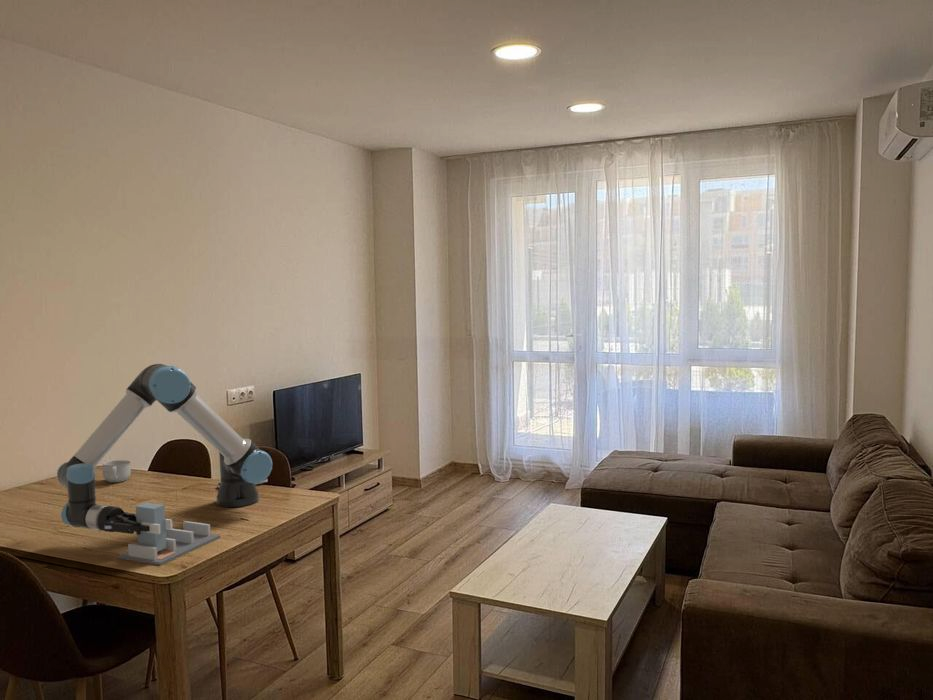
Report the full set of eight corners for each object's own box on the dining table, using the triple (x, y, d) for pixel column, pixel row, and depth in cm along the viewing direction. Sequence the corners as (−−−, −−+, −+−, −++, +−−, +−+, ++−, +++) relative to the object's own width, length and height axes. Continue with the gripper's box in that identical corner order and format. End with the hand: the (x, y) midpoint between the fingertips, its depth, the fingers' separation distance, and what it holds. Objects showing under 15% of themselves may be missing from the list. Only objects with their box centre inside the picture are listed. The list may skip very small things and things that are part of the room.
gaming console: (222, 492, 287) (221, 486, 287) (215, 487, 294) (215, 481, 294) (270, 484, 298) (270, 478, 298) (263, 480, 305) (262, 474, 305)
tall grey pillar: (148, 544, 221) (146, 502, 220) (166, 547, 218) (164, 505, 217) (137, 549, 217) (135, 506, 216) (156, 552, 215) (154, 508, 214)
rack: (180, 531, 239) (180, 519, 239) (220, 537, 233) (219, 524, 233) (118, 558, 216) (118, 544, 216) (160, 565, 210) (159, 550, 210)
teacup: (108, 478, 310) (107, 459, 309) (135, 477, 311) (134, 458, 310) (96, 486, 296) (95, 467, 295) (124, 485, 297) (123, 466, 296)
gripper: (129, 521, 232) (187, 530, 223) (82, 539, 216) (143, 548, 208) (127, 498, 231) (186, 506, 223) (81, 514, 216) (142, 523, 207)
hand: (165, 526), depth 215 cm, fingers closed on tall grey pillar, 4 cm apart
